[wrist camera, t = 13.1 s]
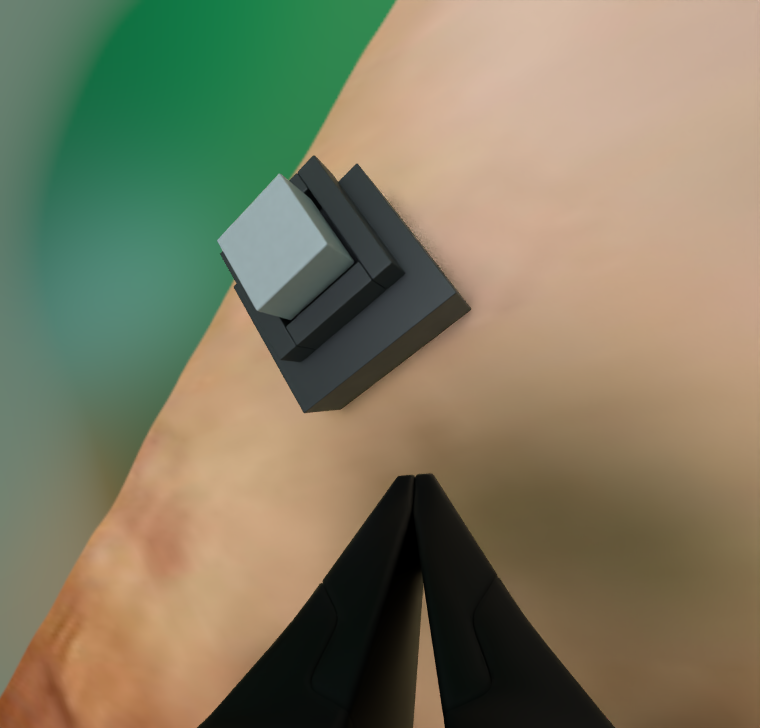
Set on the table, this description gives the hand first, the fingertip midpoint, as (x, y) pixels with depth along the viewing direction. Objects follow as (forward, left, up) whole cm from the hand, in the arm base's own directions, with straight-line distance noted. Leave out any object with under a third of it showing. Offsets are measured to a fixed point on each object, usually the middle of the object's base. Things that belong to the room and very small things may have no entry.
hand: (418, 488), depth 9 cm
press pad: (+10, +7, -7) cm, 14 cm away
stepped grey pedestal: (+9, +6, -12) cm, 16 cm away
